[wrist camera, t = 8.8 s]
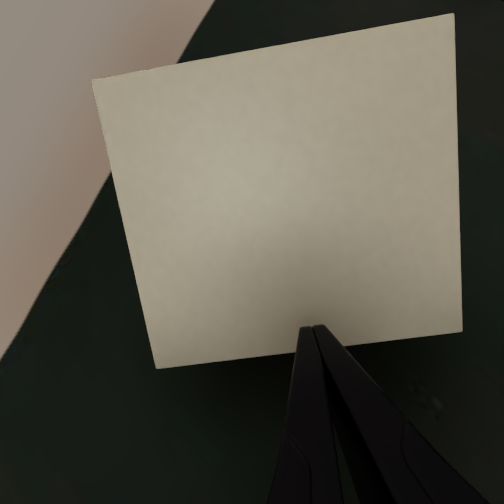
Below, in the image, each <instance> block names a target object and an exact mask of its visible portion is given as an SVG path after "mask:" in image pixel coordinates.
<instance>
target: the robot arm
mask: <svg viewBox="0 0 504 504" xmlns="http://www.w3.org/2000/svg"><path fill="white" fill-rule="evenodd" d="M331 418H332V420H331ZM404 418H405V416H404V415H403V413H402V412H401V411H400V410H399V409H398V408H397V407H396V405H395V404H394V403H393V402H392V401H391V400H390V399H389V397H388V396H387V395H386V394H385V393H384V392H383V391H382V389H381V388H380V387H379V386H378V385H377V384H376V383H375V382H374V380H373V379H372V378H371V377H370V376H369V375H368V374H367V372H366V371H365V370H364V369H363V368H362V367H361V366H360V364H359V363H358V362H357V361H356V360H355V359H354V358H353V356H352V355H351V354H350V353H349V352H348V351H347V350H346V348H345V347H344V346H343V345H342V344H341V343H340V342H339V341H338V339H337V338H336V337H335V336H334V335H333V334H332V333H331V331H330V330H329V329H328V328H327V327H326V326H325V325H324V324H319V325H313V326H312V327H311V326H303V327H300V329H299V334H298V340H297V346H296V352H295V359H294V365H293V371H292V377H291V383H290V389H289V396H288V402H287V408H286V414H285V420H284V426H283V432H282V438H281V444H280V450H279V455H278V460H277V465H276V470H275V474H274V478H273V482H272V485H271V489H270V493H269V497H268V500H267V504H344V501H343V494H342V487H341V480H340V474H339V467H338V460H337V453H336V447H335V440H334V433H333V426H332V421H333V424H334V427H335V430H336V433H337V436H338V439H339V442H340V445H341V448H342V451H343V454H344V457H345V460H346V463H347V466H348V469H349V472H350V474H351V477H352V480H353V483H354V486H355V489H356V492H357V495H358V498H359V501H360V504H490V503H489V502H488V501H487V500H486V499H485V498H484V497H483V496H482V495H481V494H479V493H478V492H477V491H476V490H475V489H474V488H473V487H472V486H471V485H470V484H469V483H468V482H467V481H466V480H465V479H464V478H463V477H462V476H461V475H460V474H459V473H458V472H457V471H456V470H455V469H454V468H453V467H452V466H451V465H450V464H449V463H448V462H447V461H446V460H445V459H444V458H443V457H442V456H441V455H440V454H439V453H438V452H437V451H436V450H435V449H434V448H433V447H432V446H431V445H430V443H429V442H428V441H427V440H426V439H425V438H424V437H423V436H422V435H421V434H420V433H419V431H418V430H417V429H416V428H415V427H414V426H413V425H412V424H411V422H410V421H409V420H408V419H407V418H405V419H404Z"/></svg>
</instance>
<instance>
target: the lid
mask: <svg viewBox="0 0 504 504" xmlns="http://www.w3.org/2000/svg"><path fill="white" fill-rule="evenodd" d="M91 82H92V87H93V91H94V95H95V100H96V105H97V109H98V114H99V118H100V122H101V127H102V131H103V135H104V140H105V145H106V149H107V153H108V158H109V162H110V166H111V171H112V176H113V180H114V185H115V189H116V193H117V198H118V202H119V207H120V211H121V216H122V220H123V224H124V229H125V233H126V238H127V242H128V247H129V251H130V255H131V260H132V264H133V269H134V273H135V278H136V282H137V286H138V291H139V295H140V300H141V304H142V309H143V313H144V318H145V322H146V326H147V331H148V335H149V340H150V344H151V349H152V353H153V357H154V362H155V366H156V369H161V368H169V367H177V366H185V365H194V364H202V363H210V362H218V361H226V360H235V359H243V358H251V357H259V356H267V355H276V354H284V353H292V352H296V346H297V340H298V334H299V329H300V327H303V326H311V327H312V326H313V325H319V324H324V325H325V326H326V327H327V328H328V329H329V330H330V331H331V333H332V334H333V335H334V336H335V337H336V338H337V339H338V341H339V342H340V343H341V344H342V345H343V346H350V345H358V344H366V343H374V342H382V341H391V340H399V339H407V338H415V337H423V336H432V335H440V334H448V333H456V332H462V293H461V254H460V215H459V177H458V138H457V99H456V60H455V22H454V13H451V14H446V15H440V16H435V17H430V18H424V19H419V20H413V21H408V22H402V23H397V24H392V25H386V26H381V27H375V28H370V29H364V30H359V31H353V32H348V33H343V34H337V35H332V36H326V37H321V38H315V39H310V40H305V41H299V42H294V43H288V44H283V45H277V46H272V47H267V48H261V49H256V50H250V51H245V52H239V53H234V54H228V55H223V56H218V57H212V58H207V59H201V60H196V61H190V62H185V63H180V64H174V65H169V66H164V67H158V68H152V69H147V70H142V71H136V72H131V73H125V74H120V75H114V76H109V77H104V78H98V79H93V80H91Z"/></svg>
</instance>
